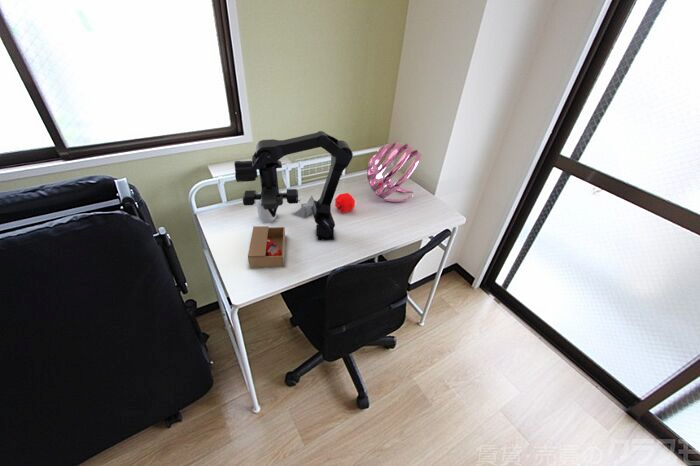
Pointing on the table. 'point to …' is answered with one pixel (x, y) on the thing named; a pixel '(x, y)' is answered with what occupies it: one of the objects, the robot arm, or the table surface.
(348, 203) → the ball
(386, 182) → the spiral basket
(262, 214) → the can
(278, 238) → the carton
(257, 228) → the flap
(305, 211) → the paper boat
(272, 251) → the race car
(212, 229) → the table surface
